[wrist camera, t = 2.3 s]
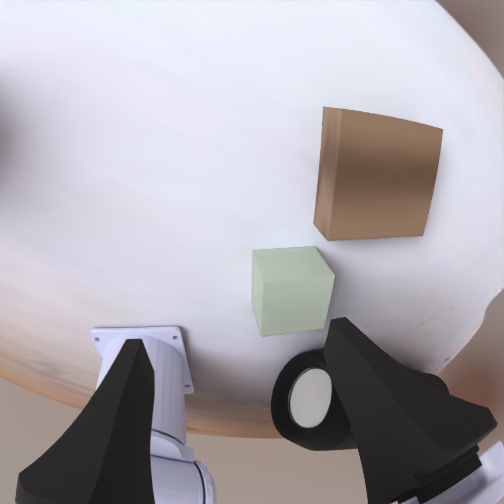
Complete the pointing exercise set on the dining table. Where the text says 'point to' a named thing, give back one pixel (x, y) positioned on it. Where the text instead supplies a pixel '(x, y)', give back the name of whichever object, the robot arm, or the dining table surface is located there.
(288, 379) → the portable speaker
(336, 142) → the walnut block
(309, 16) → the dining table surface
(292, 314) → the sage cube
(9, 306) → the dining table surface
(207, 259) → the dining table surface
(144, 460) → the robot arm
